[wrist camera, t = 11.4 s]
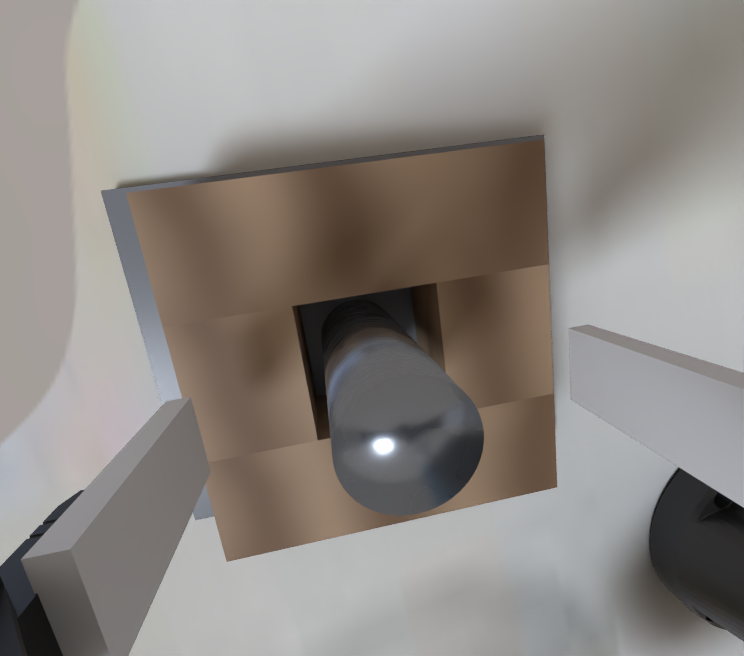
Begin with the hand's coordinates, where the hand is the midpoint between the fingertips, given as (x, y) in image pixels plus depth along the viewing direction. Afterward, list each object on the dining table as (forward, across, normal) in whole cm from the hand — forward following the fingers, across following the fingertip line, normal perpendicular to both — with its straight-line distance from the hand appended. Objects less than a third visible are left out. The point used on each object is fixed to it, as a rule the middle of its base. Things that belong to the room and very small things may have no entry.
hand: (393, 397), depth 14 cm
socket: (+9, 0, 0) cm, 10 cm away
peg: (+8, 0, 0) cm, 9 cm away
